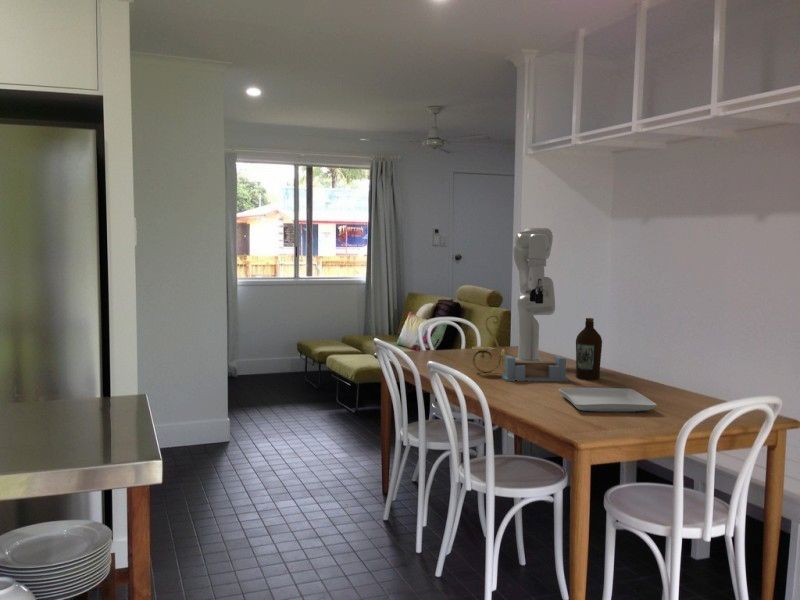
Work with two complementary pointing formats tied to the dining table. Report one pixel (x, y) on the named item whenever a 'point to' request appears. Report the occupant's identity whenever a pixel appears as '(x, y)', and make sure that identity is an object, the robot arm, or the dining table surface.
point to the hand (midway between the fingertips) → (536, 302)
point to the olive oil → (588, 352)
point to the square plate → (607, 399)
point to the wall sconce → (486, 349)
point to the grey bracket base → (519, 374)
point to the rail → (535, 368)
